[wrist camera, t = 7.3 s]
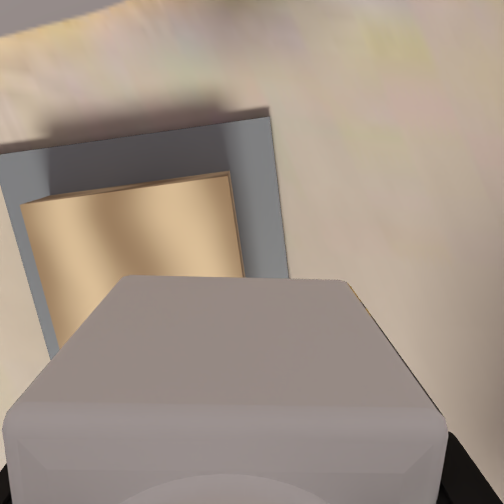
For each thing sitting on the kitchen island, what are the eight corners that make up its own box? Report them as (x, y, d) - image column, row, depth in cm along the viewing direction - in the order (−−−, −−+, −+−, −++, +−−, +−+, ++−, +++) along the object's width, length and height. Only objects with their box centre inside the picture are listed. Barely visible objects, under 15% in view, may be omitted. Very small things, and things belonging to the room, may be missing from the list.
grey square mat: (268, 117, 28) (269, 116, 27) (298, 363, 33) (299, 367, 32) (-3, 155, 28) (-9, 155, 28) (64, 393, 33) (61, 398, 32)
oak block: (229, 170, 28) (227, 175, 24) (254, 336, 31) (255, 364, 28) (49, 195, 28) (19, 204, 25) (91, 357, 32) (70, 388, 28)
